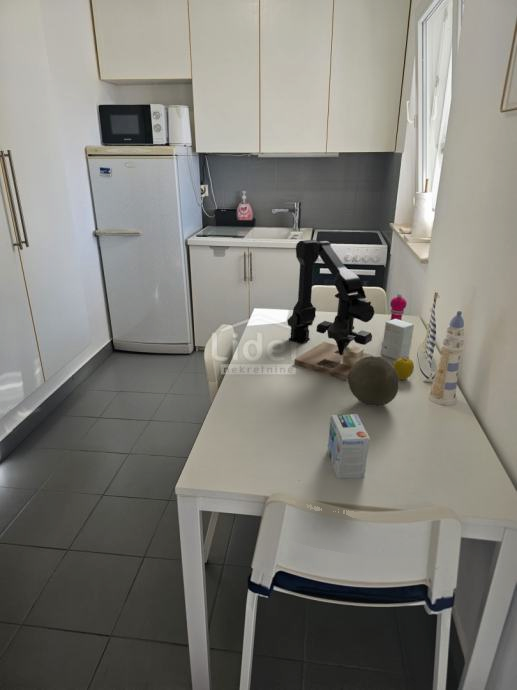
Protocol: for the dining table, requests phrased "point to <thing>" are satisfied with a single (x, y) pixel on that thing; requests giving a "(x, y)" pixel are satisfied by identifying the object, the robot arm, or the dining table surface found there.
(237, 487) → the dining table surface
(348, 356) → the maple block
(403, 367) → the apple
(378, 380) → the cantaloupe
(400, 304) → the pepper mill
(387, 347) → the small box
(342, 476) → the light bulb box
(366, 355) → the trap board
